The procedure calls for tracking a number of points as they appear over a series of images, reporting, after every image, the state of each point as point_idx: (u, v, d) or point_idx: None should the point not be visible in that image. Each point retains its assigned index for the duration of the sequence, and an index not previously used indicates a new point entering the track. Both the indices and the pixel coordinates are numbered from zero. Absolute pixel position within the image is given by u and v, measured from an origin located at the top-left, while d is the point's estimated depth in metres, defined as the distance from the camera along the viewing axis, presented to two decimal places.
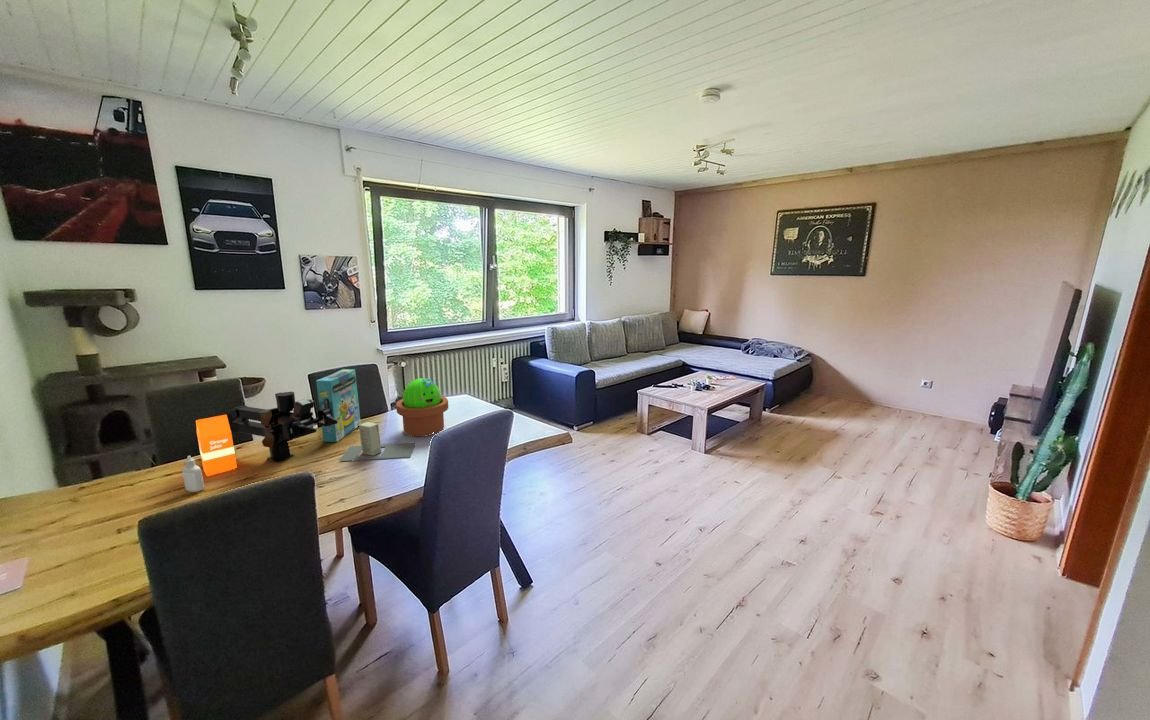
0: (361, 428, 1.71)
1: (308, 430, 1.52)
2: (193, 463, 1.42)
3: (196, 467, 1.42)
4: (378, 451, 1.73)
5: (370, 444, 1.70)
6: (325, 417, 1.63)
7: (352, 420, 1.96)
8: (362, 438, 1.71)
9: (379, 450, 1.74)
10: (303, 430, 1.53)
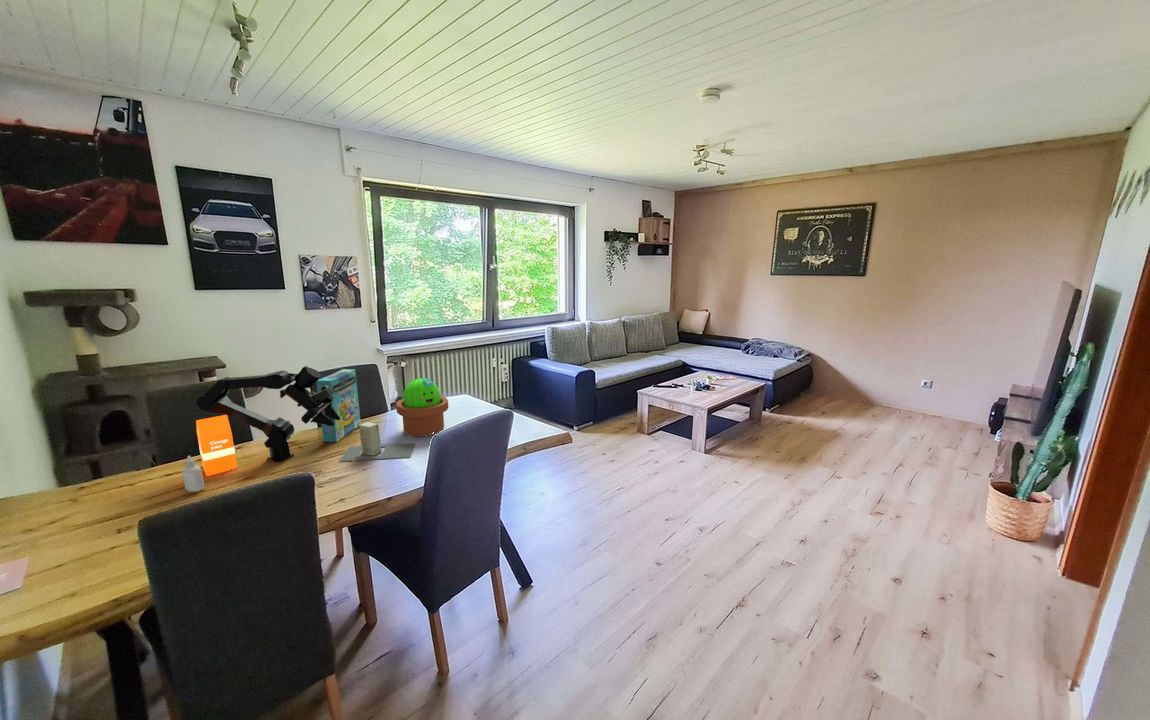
0: (361, 428, 1.71)
1: (328, 421, 1.64)
2: (193, 463, 1.42)
3: (196, 467, 1.42)
4: (378, 451, 1.73)
5: (370, 444, 1.70)
6: (328, 408, 1.71)
7: (352, 420, 1.96)
8: (362, 438, 1.71)
9: (379, 450, 1.74)
10: (322, 419, 1.64)
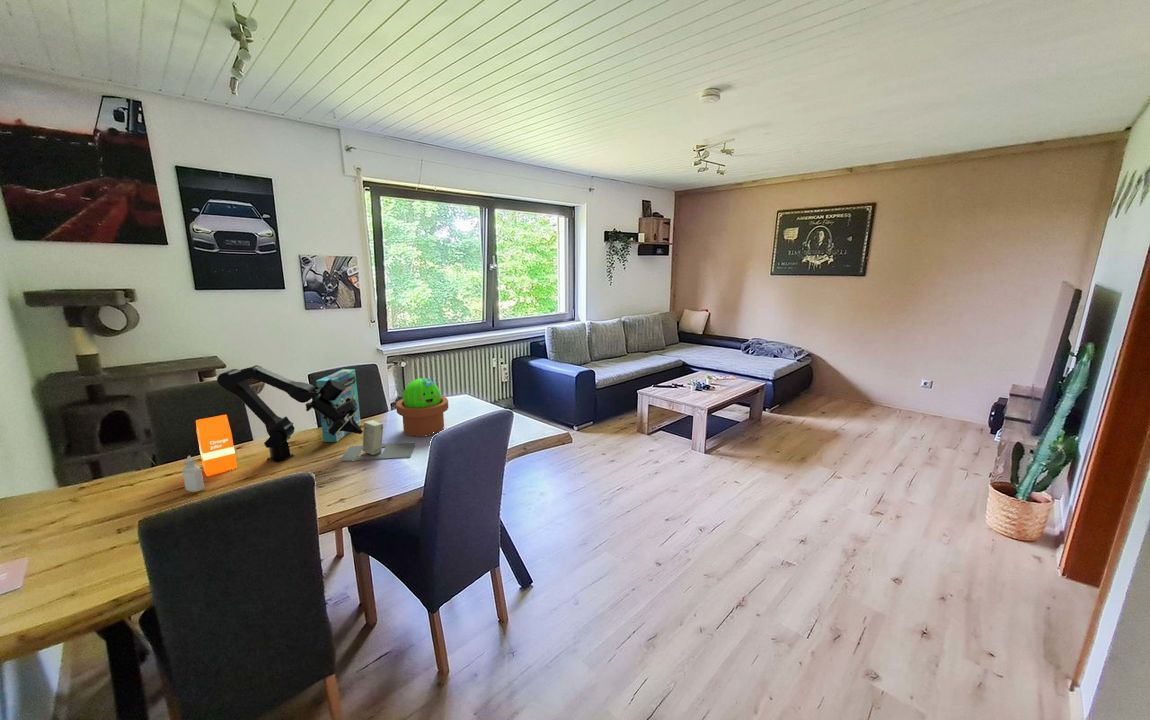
0: (365, 425, 1.71)
1: (356, 430, 1.70)
2: (193, 463, 1.42)
3: (196, 467, 1.42)
4: (378, 451, 1.73)
5: (372, 443, 1.70)
6: None
7: None
8: (365, 436, 1.72)
9: (379, 450, 1.74)
10: (351, 427, 1.69)
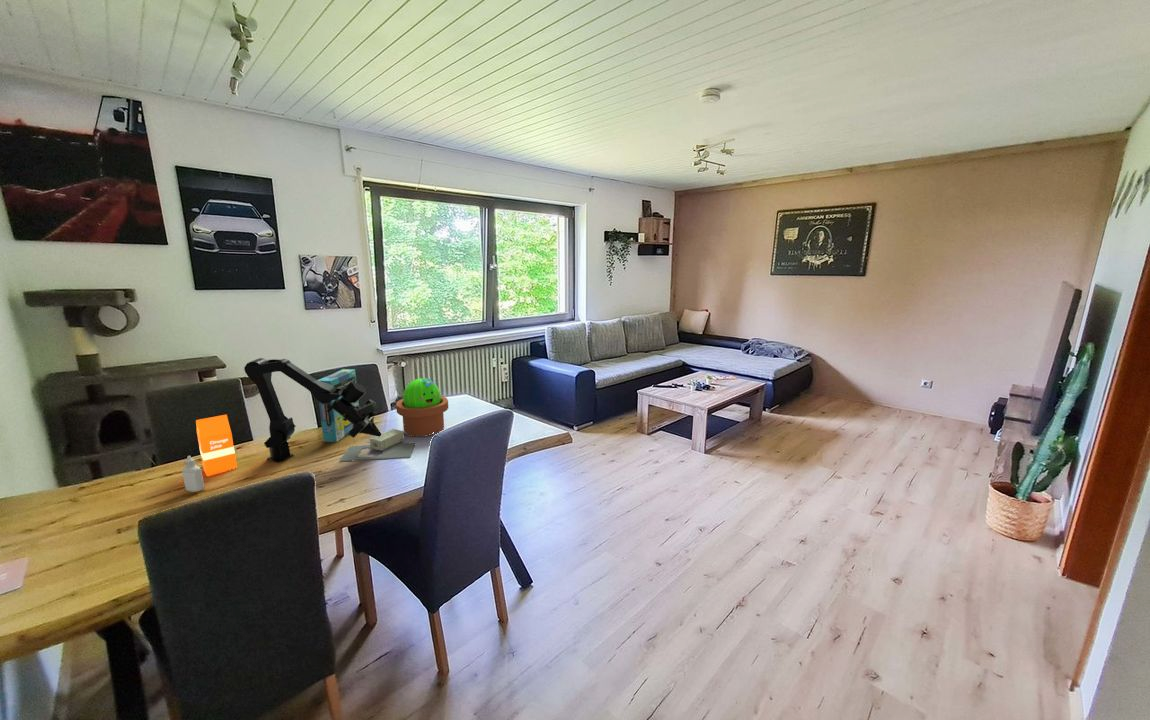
0: (392, 430, 1.85)
1: (375, 432, 1.72)
2: (193, 463, 1.42)
3: (196, 467, 1.42)
4: (382, 446, 1.75)
5: (389, 436, 1.78)
6: None
7: None
8: (384, 433, 1.82)
9: (383, 447, 1.75)
10: (370, 430, 1.71)
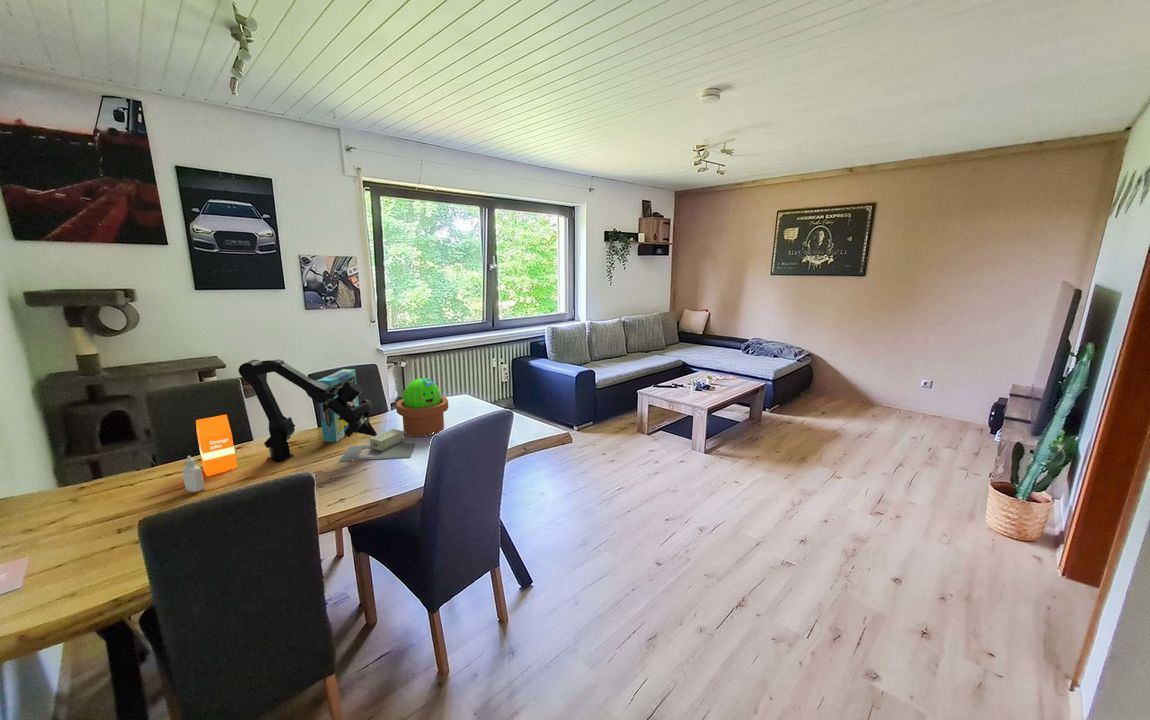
0: (392, 430, 1.85)
1: (370, 432, 1.71)
2: (193, 463, 1.42)
3: (196, 467, 1.42)
4: (382, 446, 1.75)
5: (389, 436, 1.78)
6: None
7: None
8: (384, 433, 1.82)
9: (383, 447, 1.75)
10: (365, 429, 1.70)
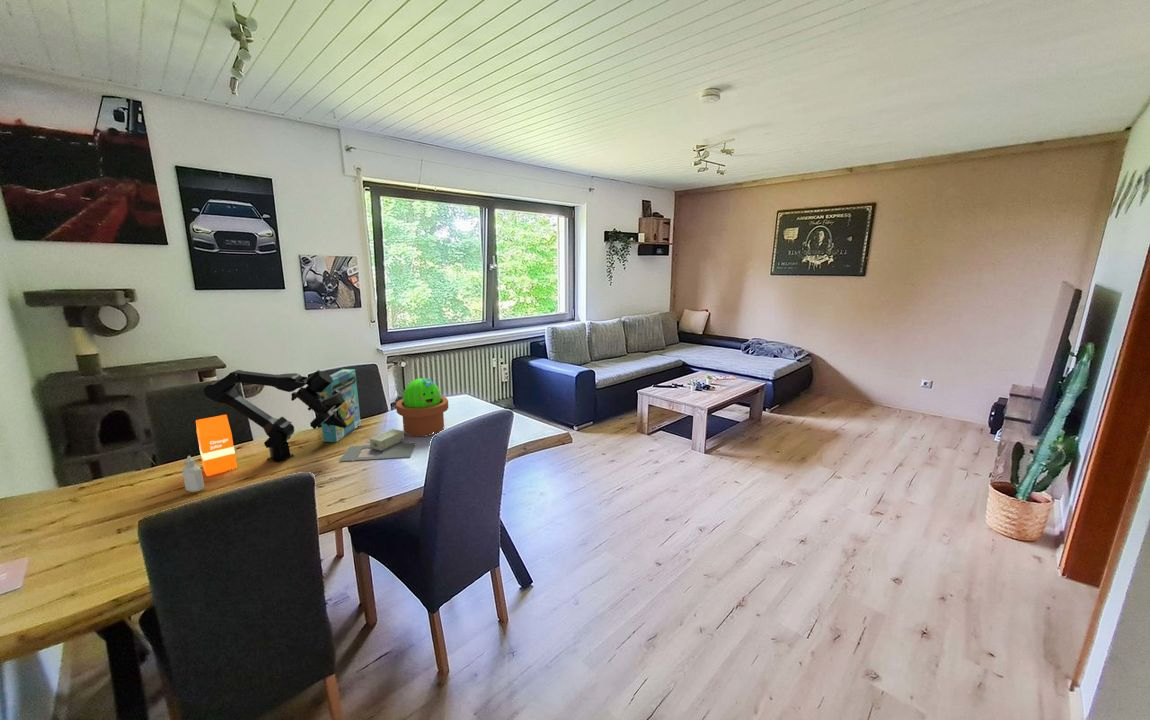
0: (392, 430, 1.85)
1: (339, 424, 1.68)
2: (193, 463, 1.42)
3: (196, 467, 1.42)
4: (382, 446, 1.75)
5: (389, 436, 1.78)
6: None
7: (352, 420, 1.96)
8: (384, 433, 1.82)
9: (383, 447, 1.75)
10: (335, 421, 1.67)
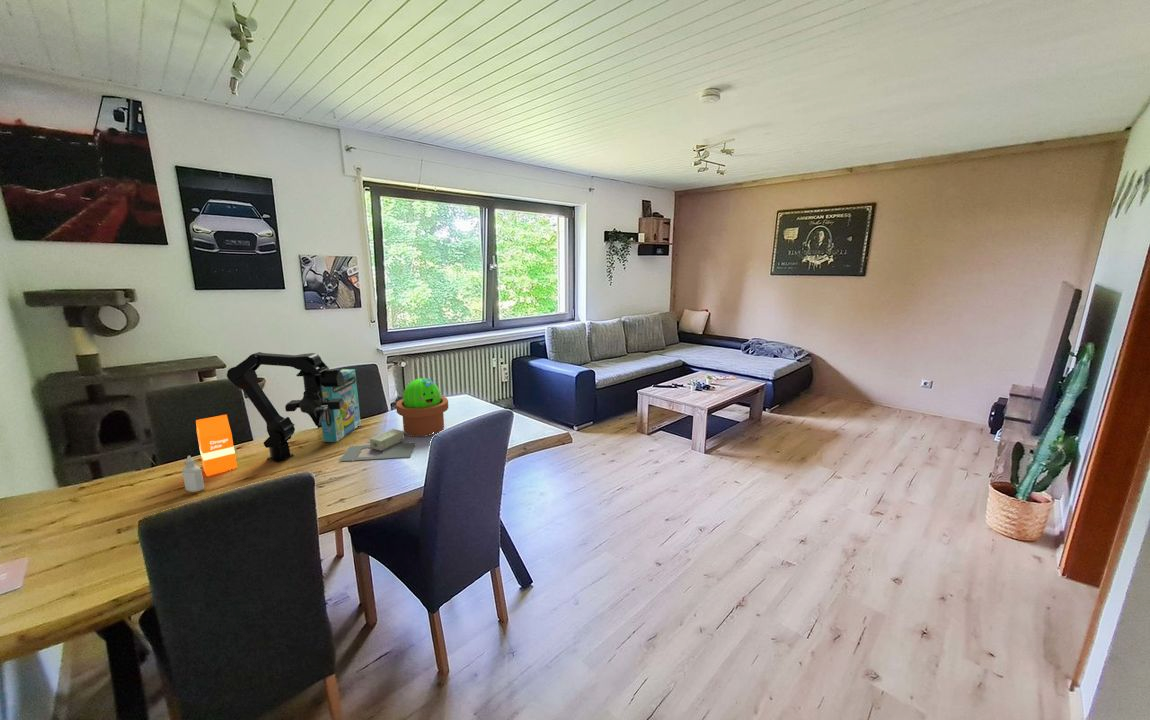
0: (392, 430, 1.85)
1: None
2: (193, 463, 1.42)
3: (196, 467, 1.42)
4: (382, 446, 1.75)
5: (389, 436, 1.78)
6: None
7: (352, 420, 1.96)
8: (384, 433, 1.82)
9: (383, 447, 1.75)
10: None
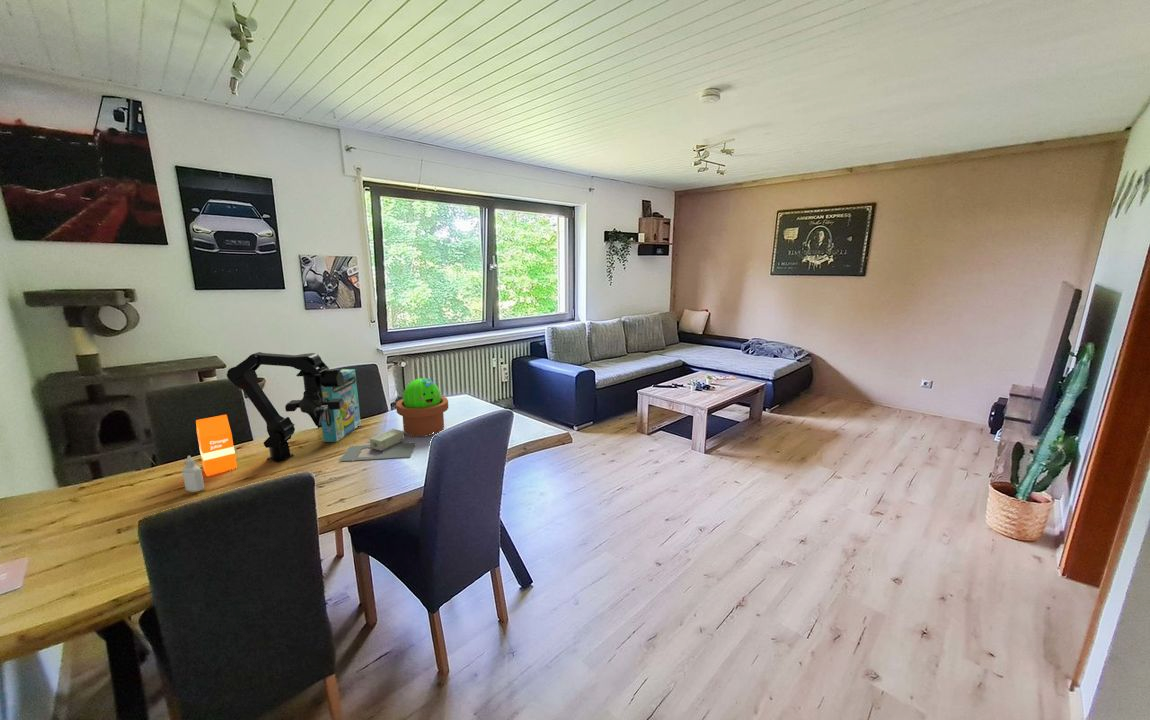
0: (392, 430, 1.85)
1: None
2: (193, 463, 1.42)
3: (196, 467, 1.42)
4: (382, 446, 1.75)
5: (389, 436, 1.78)
6: None
7: (352, 420, 1.96)
8: (384, 433, 1.82)
9: (383, 447, 1.75)
10: None
